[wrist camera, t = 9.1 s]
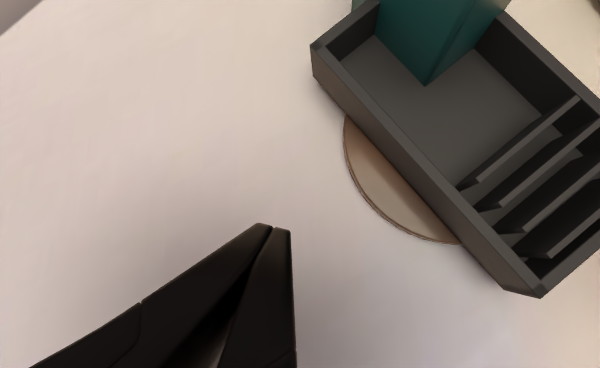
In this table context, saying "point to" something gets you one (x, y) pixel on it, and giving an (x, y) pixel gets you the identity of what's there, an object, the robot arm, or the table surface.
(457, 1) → the dish rack
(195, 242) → the table surface
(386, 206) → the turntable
